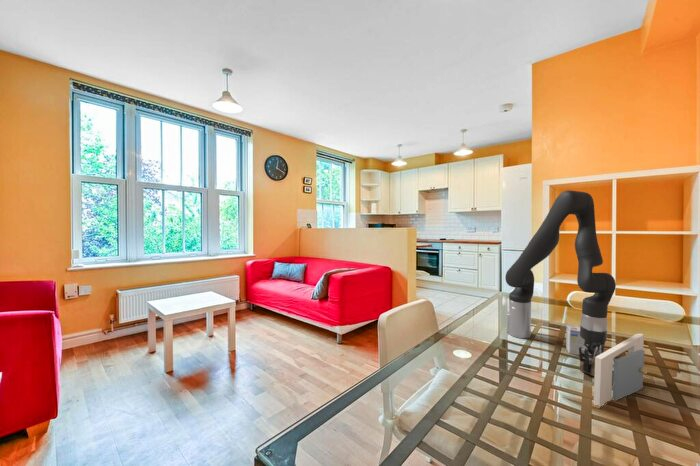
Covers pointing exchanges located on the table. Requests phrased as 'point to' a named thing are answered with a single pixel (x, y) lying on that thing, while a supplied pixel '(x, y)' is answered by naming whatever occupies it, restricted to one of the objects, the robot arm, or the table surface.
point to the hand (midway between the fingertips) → (590, 369)
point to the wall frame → (611, 367)
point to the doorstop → (592, 368)
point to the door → (628, 374)
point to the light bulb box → (573, 339)
